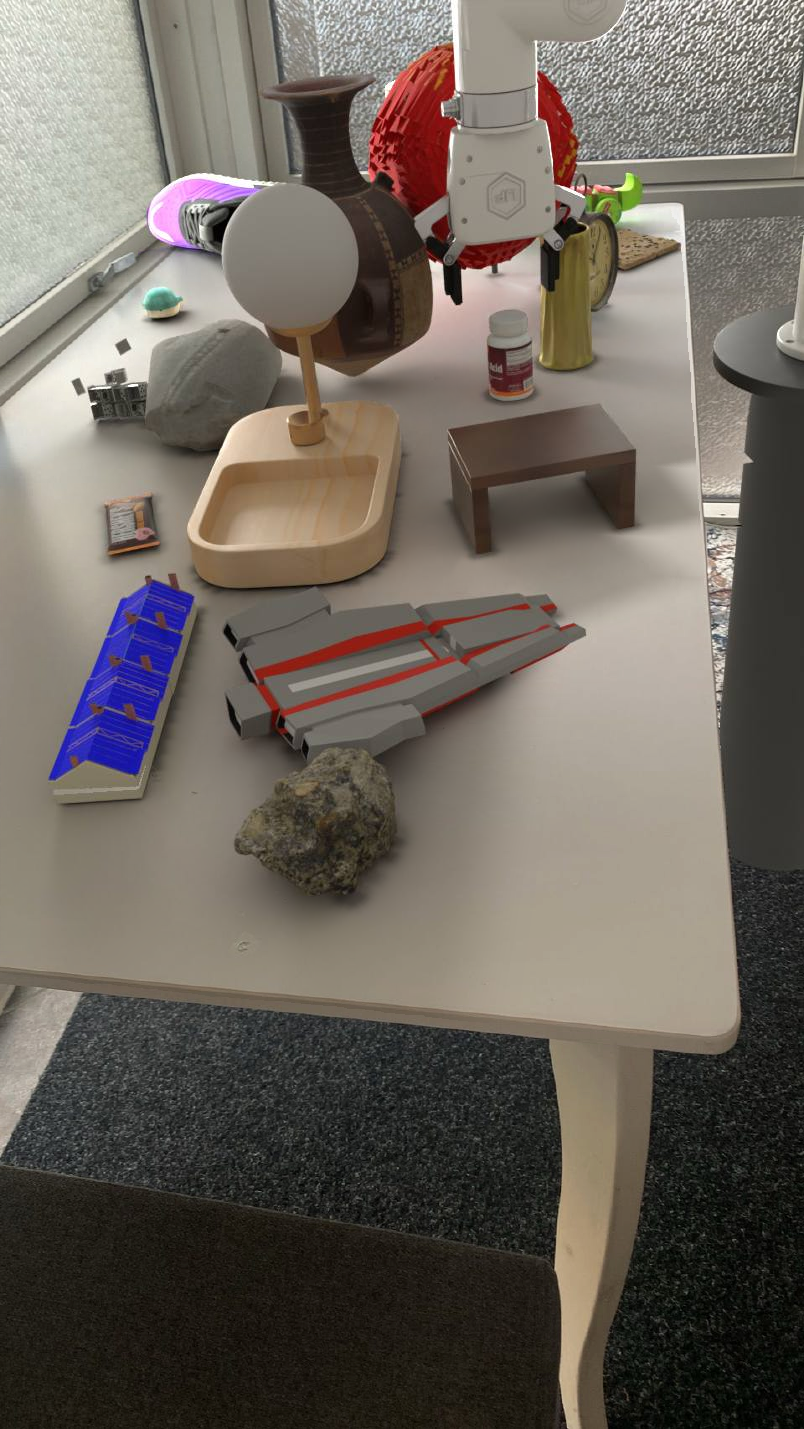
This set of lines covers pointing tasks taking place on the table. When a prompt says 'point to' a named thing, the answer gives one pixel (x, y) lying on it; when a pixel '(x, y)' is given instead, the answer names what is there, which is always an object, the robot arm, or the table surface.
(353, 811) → the rock
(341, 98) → the vase
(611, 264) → the alarm clock
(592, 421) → the shelf
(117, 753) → the building
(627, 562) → the table surface
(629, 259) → the cookie
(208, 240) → the running shoe
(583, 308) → the vase
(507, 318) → the pill bottle
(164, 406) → the stone
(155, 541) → the chocolate bar
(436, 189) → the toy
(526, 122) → the robot arm
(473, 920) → the table surface
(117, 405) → the house of cards
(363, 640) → the toy spaceship
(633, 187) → the toy crocodile
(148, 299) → the whale figurine
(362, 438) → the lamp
